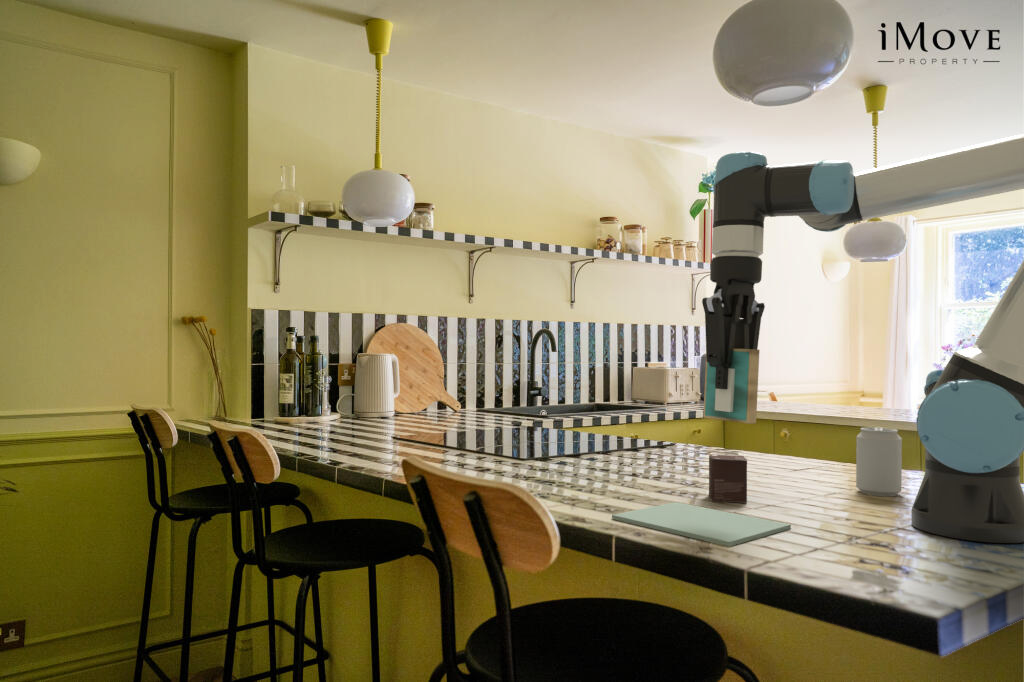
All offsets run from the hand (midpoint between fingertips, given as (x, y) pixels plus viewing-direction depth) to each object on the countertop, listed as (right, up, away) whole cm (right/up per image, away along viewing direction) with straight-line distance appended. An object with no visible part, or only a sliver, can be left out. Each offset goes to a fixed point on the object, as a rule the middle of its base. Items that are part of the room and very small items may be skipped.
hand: (729, 410), depth 112 cm
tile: (0, -1, 0) cm, 1 cm away
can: (+34, -18, +23) cm, 45 cm away
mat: (-6, -16, -4) cm, 18 cm away
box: (+4, -17, +15) cm, 23 cm away
